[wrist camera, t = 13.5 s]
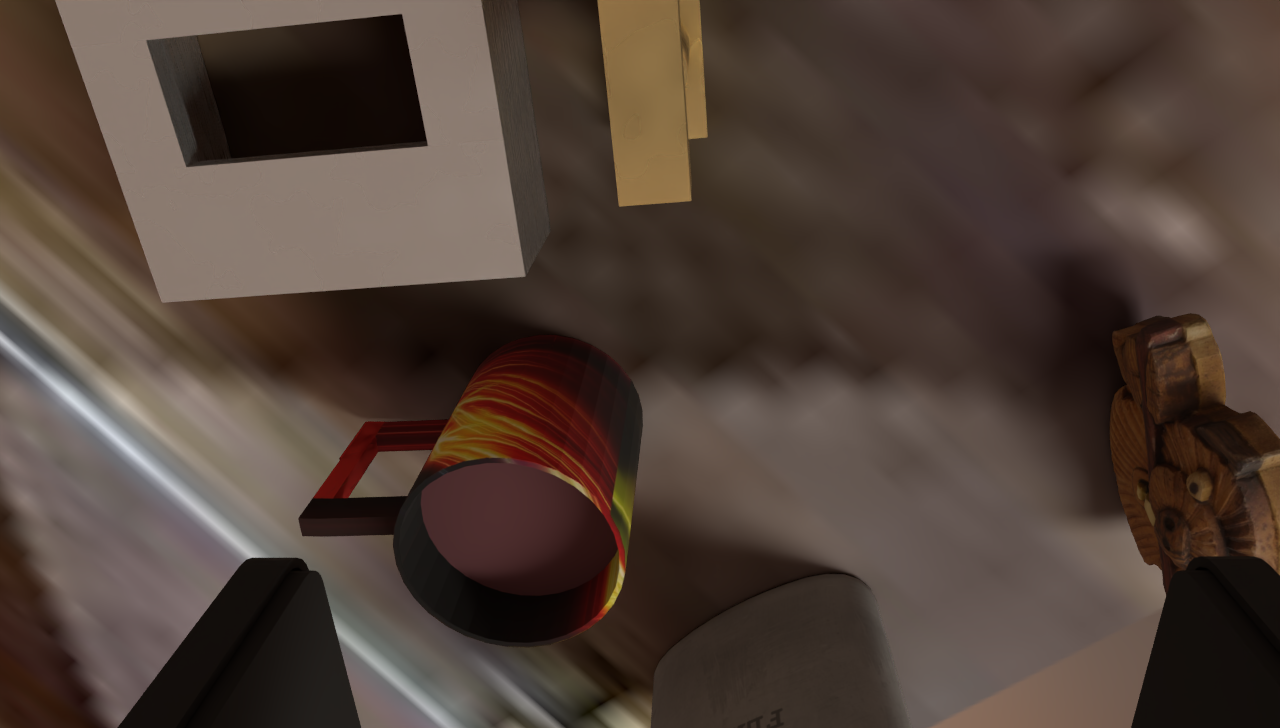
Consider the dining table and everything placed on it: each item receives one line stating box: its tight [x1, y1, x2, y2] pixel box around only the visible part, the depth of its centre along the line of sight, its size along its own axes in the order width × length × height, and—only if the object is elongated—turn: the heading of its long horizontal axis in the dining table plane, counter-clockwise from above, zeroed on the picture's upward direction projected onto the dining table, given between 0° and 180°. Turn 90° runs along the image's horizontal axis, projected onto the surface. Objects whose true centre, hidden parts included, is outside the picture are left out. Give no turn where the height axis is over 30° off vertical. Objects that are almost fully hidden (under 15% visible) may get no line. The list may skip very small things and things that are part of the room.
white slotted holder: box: [55, 0, 550, 303], centre depth 36 cm, size 16×16×7 cm
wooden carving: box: [1109, 313, 1280, 595], centre depth 40 cm, size 16×5×10 cm, turn 23°
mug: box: [298, 335, 643, 647], centre depth 41 cm, size 10×14×12 cm
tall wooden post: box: [597, 0, 707, 206], centre depth 31 cm, size 3×8×14 cm, turn 5°
